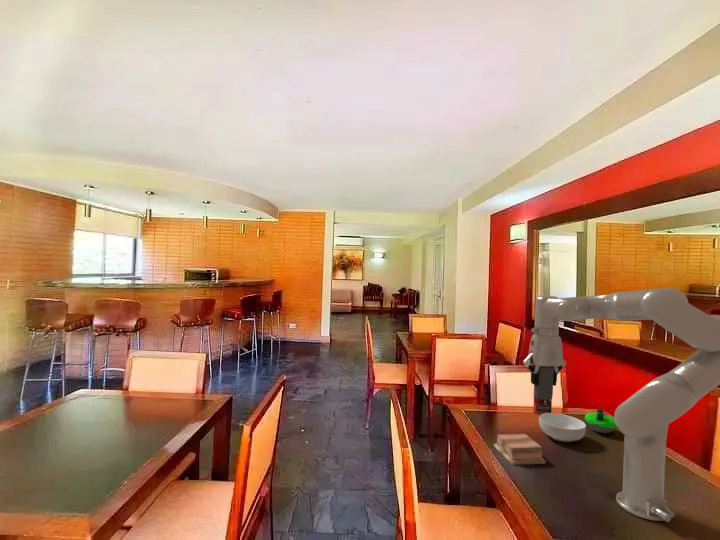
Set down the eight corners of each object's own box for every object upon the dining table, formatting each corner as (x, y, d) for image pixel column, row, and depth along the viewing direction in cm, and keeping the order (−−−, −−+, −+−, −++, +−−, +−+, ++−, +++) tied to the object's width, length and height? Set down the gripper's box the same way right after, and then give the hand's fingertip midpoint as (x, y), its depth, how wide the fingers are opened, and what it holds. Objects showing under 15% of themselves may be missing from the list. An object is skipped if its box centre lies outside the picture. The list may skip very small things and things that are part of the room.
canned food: (536, 415, 180) (536, 391, 180) (531, 409, 188) (532, 386, 188) (553, 417, 179) (554, 393, 179) (548, 410, 187) (549, 387, 187)
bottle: (554, 401, 131) (556, 356, 130) (535, 399, 132) (538, 354, 132) (549, 395, 136) (551, 352, 136) (531, 393, 138) (533, 351, 137)
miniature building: (617, 440, 156) (618, 413, 156) (583, 432, 163) (585, 406, 162) (616, 429, 167) (617, 404, 166) (584, 422, 173) (586, 398, 172)
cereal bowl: (565, 450, 146) (566, 431, 146) (529, 433, 161) (529, 416, 161) (595, 443, 153) (596, 424, 153) (558, 426, 168) (558, 410, 168)
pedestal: (545, 463, 136) (545, 449, 136) (512, 464, 134) (513, 450, 134) (523, 445, 150) (524, 432, 150) (493, 446, 148) (494, 432, 148)
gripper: (528, 333, 129) (525, 388, 129) (576, 334, 131) (573, 388, 131) (516, 329, 136) (514, 381, 137) (562, 330, 138) (559, 381, 139)
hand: (543, 383), depth 134 cm, fingers closed on bottle, 5 cm apart
